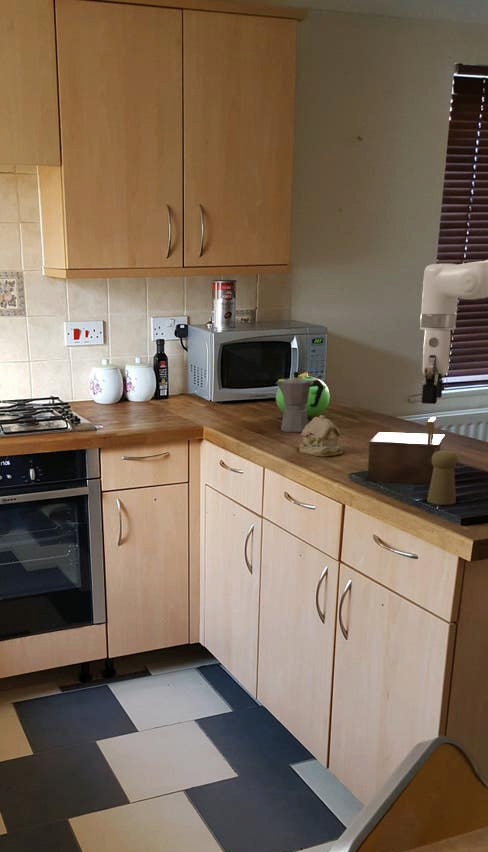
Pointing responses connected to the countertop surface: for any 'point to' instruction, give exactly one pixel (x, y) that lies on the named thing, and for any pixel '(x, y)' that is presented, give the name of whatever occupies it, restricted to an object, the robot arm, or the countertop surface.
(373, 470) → the chest
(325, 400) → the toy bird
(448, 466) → the cork
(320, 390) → the coffeepot
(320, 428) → the ceramic model
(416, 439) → the lid
